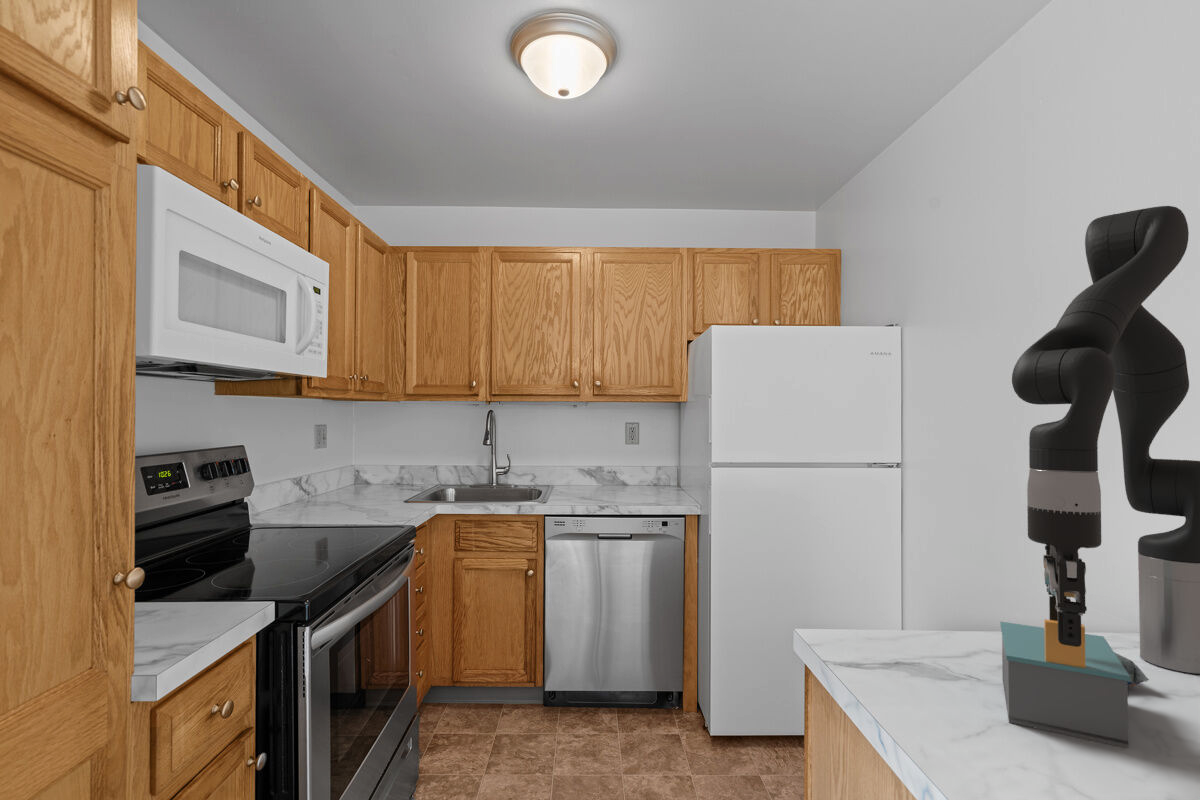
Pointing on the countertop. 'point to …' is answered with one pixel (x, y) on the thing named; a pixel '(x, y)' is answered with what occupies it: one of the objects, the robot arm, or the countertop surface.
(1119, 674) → the lid
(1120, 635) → the countertop surface
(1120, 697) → the tub
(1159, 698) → the countertop surface
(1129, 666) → the packaged food
